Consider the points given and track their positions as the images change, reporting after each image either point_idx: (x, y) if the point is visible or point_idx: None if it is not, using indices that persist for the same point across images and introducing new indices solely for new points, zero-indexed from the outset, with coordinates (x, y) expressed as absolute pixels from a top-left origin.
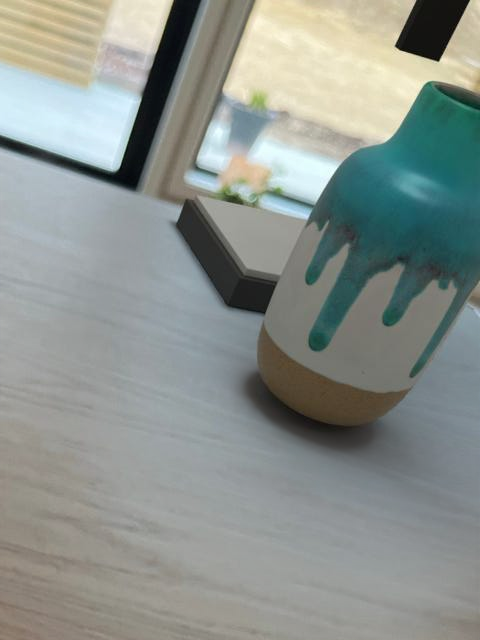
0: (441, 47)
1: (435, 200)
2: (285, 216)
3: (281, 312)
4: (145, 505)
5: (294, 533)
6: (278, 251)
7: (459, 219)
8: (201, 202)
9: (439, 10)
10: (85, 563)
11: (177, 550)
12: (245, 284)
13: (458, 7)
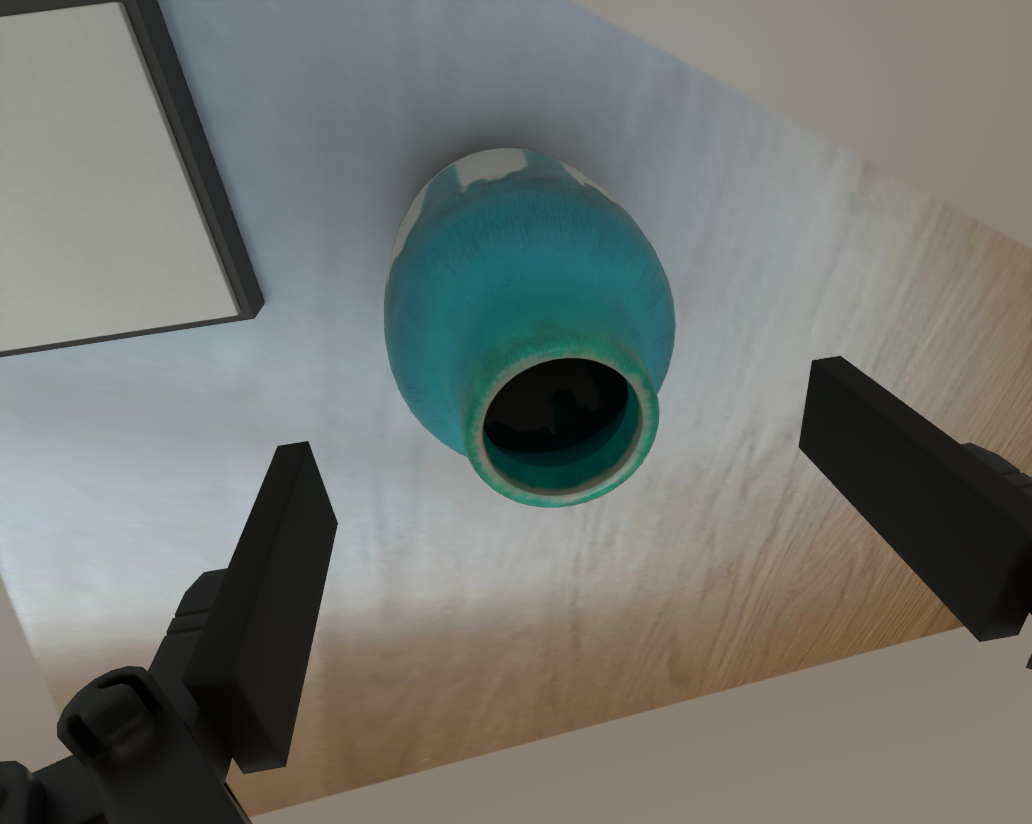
0: (306, 467)
1: (655, 389)
2: None
3: (530, 374)
4: (722, 436)
5: (745, 317)
6: (104, 242)
7: (672, 343)
8: (2, 350)
9: (307, 552)
10: (790, 476)
11: (774, 418)
12: (253, 304)
13: (291, 530)
